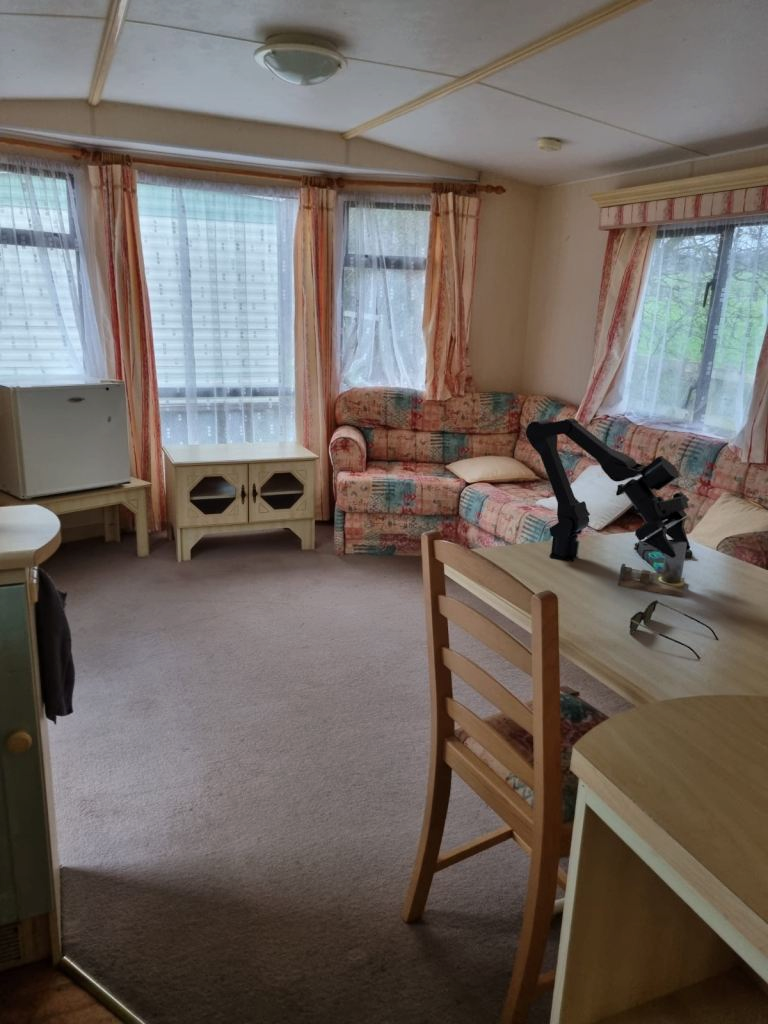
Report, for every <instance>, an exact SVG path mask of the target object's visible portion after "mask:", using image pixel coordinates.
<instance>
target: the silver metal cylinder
mask: <svg viewBox="0 0 768 1024" xmlns="http://www.w3.org/2000/svg"><path fill="white" fill-rule="evenodd" d="M668 540H669V542H670V544H671V546H672V548H673V550H674V552H675V554H676V556H675V557H674V558H671V557H670V556H668V555H667V554H665V557H664V563H663V570H662V576H661V580H662V581H664V582H667V583H672V584H678V583H680V582H681V577H682V576H683V571H684V570H683V569H684V564H685V559H686V558H685V553H686V547H687V543H686V542H684V541H681V540H674V539H672V538H670V539H668ZM682 578H683V577H682Z"/></svg>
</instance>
